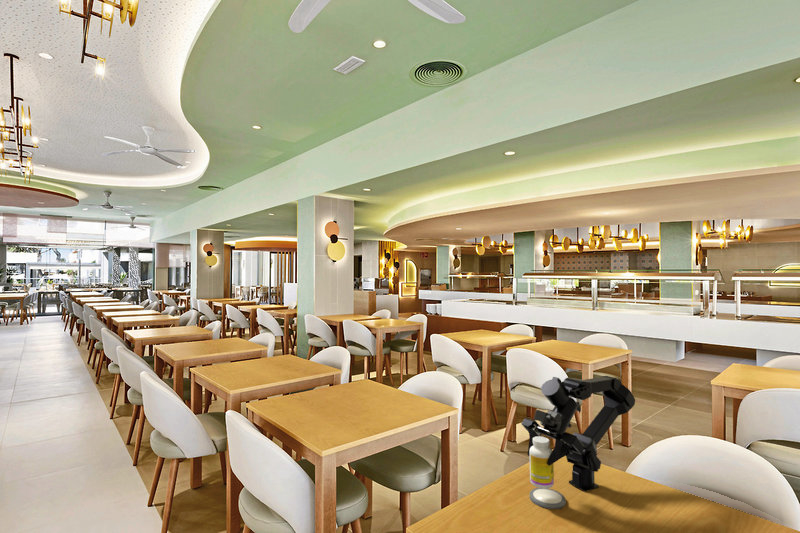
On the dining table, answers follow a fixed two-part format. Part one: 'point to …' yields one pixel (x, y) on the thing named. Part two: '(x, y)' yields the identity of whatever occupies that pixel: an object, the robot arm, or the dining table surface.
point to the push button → (547, 498)
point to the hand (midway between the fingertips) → (538, 460)
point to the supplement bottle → (541, 463)
